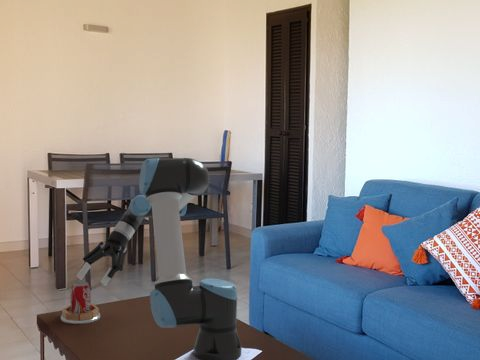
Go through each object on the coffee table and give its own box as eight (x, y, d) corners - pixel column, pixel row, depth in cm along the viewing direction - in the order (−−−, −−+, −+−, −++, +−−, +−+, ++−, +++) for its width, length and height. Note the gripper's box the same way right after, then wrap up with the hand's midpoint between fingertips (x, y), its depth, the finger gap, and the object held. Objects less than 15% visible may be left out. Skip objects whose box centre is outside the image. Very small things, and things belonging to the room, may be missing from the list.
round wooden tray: (105, 320, 219) (105, 311, 218) (67, 326, 211) (67, 317, 211) (92, 309, 231) (92, 300, 230) (56, 315, 223) (55, 306, 223)
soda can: (80, 319, 216) (80, 287, 215) (66, 316, 220) (66, 284, 218) (94, 314, 222) (94, 282, 221) (80, 311, 226) (80, 279, 225)
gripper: (148, 245, 229) (118, 292, 219) (104, 237, 244) (75, 280, 234) (138, 233, 225) (107, 281, 214) (94, 226, 240) (63, 270, 229)
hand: (90, 281), depth 224 cm, fingers open, 13 cm apart
